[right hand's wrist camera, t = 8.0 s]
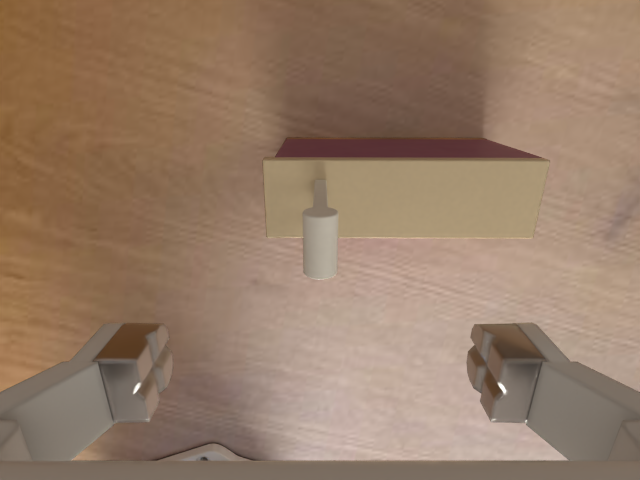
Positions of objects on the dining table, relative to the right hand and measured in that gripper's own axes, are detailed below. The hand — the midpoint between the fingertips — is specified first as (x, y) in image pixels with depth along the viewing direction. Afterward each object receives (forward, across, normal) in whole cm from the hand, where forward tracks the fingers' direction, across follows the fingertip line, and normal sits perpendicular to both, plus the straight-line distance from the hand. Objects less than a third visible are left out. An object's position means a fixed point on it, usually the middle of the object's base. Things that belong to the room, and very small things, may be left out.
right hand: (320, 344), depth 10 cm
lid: (+15, -5, 0) cm, 16 cm away
